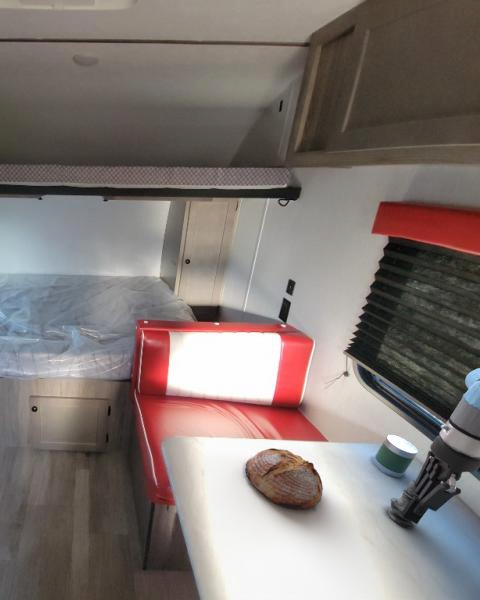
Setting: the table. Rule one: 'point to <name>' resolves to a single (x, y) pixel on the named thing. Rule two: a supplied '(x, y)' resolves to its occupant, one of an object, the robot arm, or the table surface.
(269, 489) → the bread
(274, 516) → the table surface
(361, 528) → the table surface
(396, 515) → the grey stone statuette
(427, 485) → the robot arm
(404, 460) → the tin can
